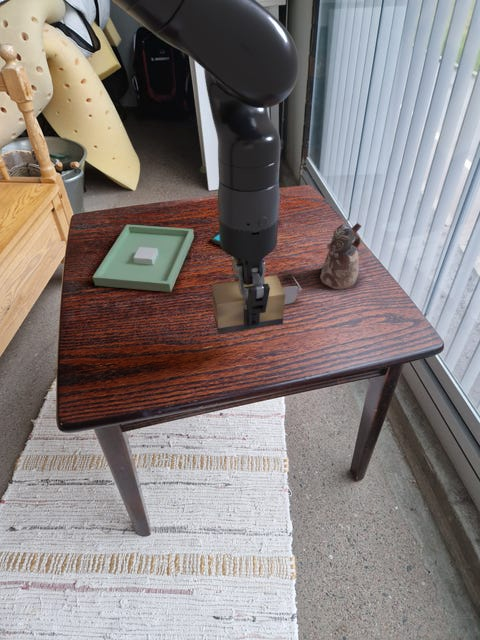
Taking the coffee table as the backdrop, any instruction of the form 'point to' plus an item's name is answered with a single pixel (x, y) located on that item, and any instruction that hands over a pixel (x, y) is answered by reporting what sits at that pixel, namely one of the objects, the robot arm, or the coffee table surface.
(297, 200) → the coffee table surface
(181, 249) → the tray
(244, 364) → the coffee table surface
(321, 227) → the coffee table surface
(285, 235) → the coffee table surface
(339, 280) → the figurine
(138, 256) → the chalk lump
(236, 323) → the eraser
